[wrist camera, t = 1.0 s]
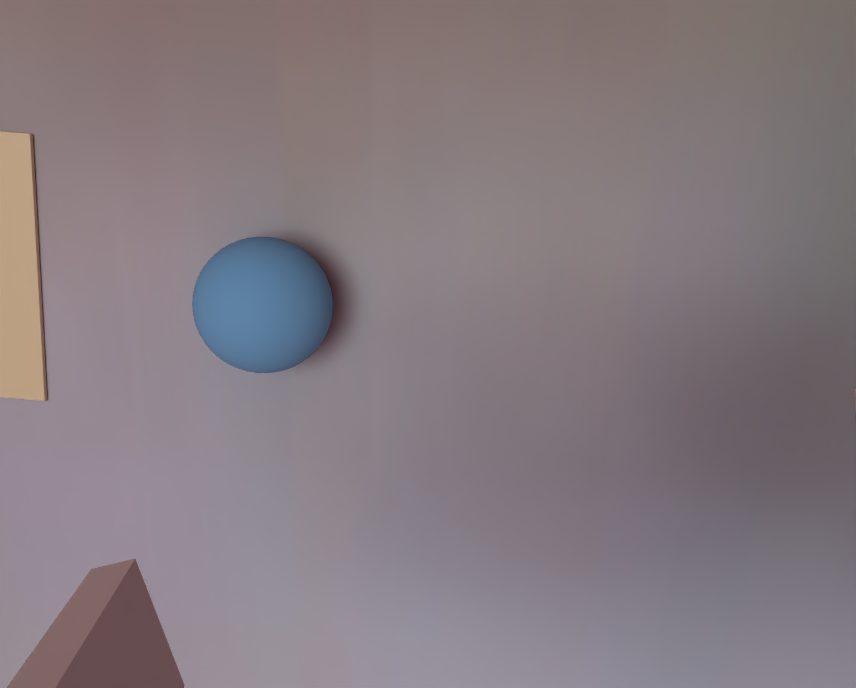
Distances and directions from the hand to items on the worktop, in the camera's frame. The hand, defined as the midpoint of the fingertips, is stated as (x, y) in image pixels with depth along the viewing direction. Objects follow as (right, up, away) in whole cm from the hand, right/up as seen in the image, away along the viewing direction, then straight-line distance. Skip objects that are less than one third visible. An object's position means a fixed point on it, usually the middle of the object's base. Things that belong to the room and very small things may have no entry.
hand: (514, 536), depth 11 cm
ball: (-8, +5, +14) cm, 17 cm away
